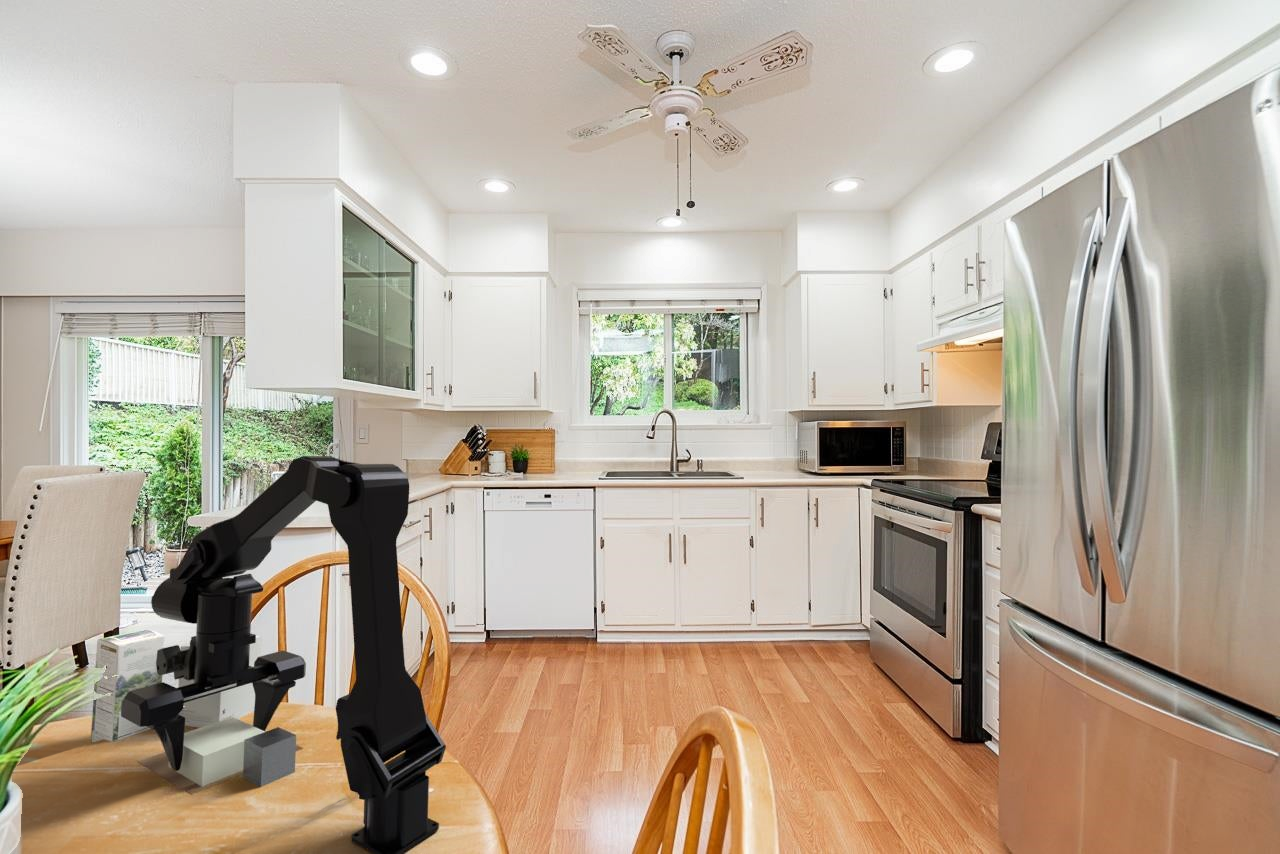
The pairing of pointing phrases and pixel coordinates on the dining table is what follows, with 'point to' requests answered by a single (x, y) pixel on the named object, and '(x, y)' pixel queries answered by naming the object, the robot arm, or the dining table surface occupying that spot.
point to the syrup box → (123, 680)
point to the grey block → (269, 756)
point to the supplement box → (221, 698)
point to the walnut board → (161, 767)
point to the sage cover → (215, 750)
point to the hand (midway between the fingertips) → (218, 753)
